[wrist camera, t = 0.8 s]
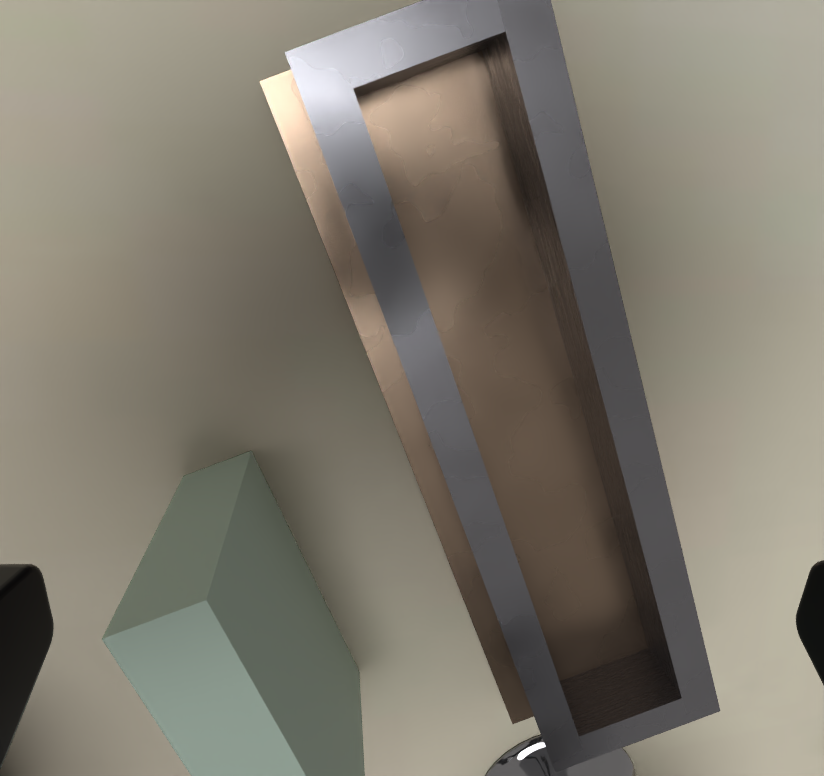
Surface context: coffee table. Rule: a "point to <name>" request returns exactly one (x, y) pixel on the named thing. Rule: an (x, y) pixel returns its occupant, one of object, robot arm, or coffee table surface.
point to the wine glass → (533, 771)
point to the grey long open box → (504, 354)
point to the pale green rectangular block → (237, 637)
